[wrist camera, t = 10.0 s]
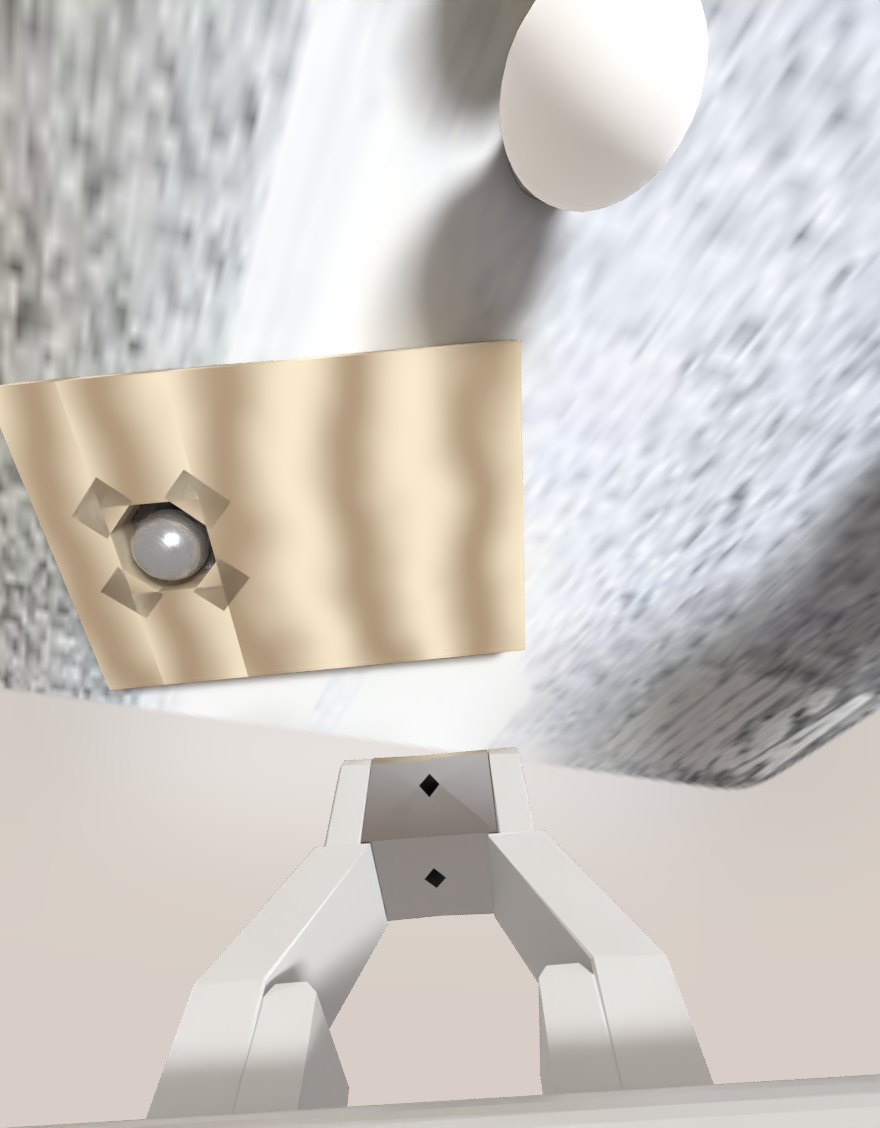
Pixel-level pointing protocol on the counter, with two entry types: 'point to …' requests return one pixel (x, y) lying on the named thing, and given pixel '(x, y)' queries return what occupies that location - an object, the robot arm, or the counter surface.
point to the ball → (170, 544)
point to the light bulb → (600, 96)
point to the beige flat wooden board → (287, 508)
